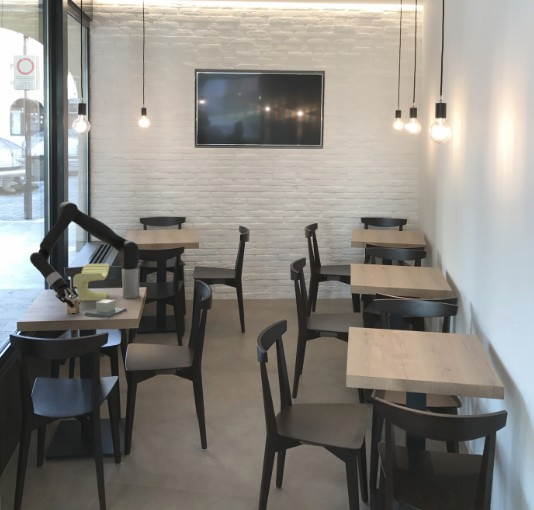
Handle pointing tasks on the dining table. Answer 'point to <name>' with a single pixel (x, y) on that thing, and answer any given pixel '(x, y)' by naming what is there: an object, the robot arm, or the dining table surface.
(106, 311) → the tower board
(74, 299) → the oak block
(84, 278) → the slatted curved stool
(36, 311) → the dining table surface
